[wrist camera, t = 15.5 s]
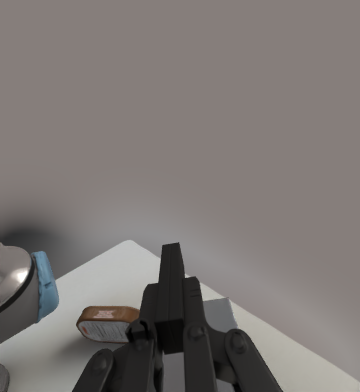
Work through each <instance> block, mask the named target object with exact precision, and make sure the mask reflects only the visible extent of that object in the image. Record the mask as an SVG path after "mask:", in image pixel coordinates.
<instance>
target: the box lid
mask: <svg viewBox="0 0 360 392" xmlns="http://www.w3.org/2000/svg"><path fill="white" fill-rule="evenodd" d="M203 306H204V312H205V317H206V321H207V323H208V324H209V325H210V326H211V327H212V328H213V329H215V330H217V331H221V332H225V333H226V332H228V331H229V330H230V329H235V328H236V329H238V325H237V322H236V319H235V316H234V313H233V310H232V307H231V304H230V300H229V298H222V299H216V300H209V301H203ZM162 361H163V364H164V382H163V392H185V378H184V353H183V352H182V353H175V354H168V355H164V352H163V357H162ZM216 381H217V387H218V392H234V391H233V388H232V386H231V384H230V383H227V382H224V381H221V380H218V379H216Z"/></svg>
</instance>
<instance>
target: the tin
mask: <svg viewBox="0 0 360 392" xmlns="http://www.w3.org/2000/svg"><path fill="white" fill-rule="evenodd" d="M139 313H140V310H138V309H136V308H133V307H128V306H89V307H87V308H85V309H84V310H83V312H82V314H81V316H80V317H79V319H78V321H77V323H76V326H77V328H78V330H79V331H80V332H81V333H82V335H83V336H84V337H86V338H88V339H90V340H93V341H97V342H110V343H128V339H127V337H126V335H125V331H126V329H127V327H128V326H129V324H130V323H131V322H133V321H134V320H135V319H138V318H139Z"/></svg>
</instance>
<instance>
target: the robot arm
mask: <svg viewBox="0 0 360 392" xmlns="http://www.w3.org/2000/svg"><path fill="white" fill-rule="evenodd" d="M58 304H59V296H58V291H57V287H56V283H55V280H54V276H53V273H52V269H51V267H50V263H49V260H48V258H47V255H46V253H45V252H43V251H40V252H34V253H32V254H31V255H29V254H28V253H27V252H26V251H25V250H23V249H21V248H19V247H13V246H3V245H2V244H1V242H0V344H1V343H2V342H4V341H6V340H7V339H9V338H11V337H12V336H14V335H16V334H17V333H19V332H21V331H22V330H24V329H26V328H27V327H29V326H31V325H32V324H34V323H35V324H36V323H38V322H39V321H40V320H41V319H42V318H44V317H45V316H47V315H48V314H50V313H51V312H53V311H54V310H55V309H56V308H57V306H58ZM125 335H126V337H127V339H128V343H127V344H125V345H124V346H122V347H120V348H118V349H117V350H115V351H113V352H112V351H111V350H109V349H102V350H100V351H98V352H97V353H95V354H94V355H93V356H92V358H91V359H90V360H89V362H88V363H87V365H86V367H85V369H84V371H83V372H82V374H81V376H80V378H79V380H78V382H77V383H76V385H75V387H74V389H73V391H72V392H163V382H164V364H163V361H162V357H163V352H164V355H168V354H175V353H182V352H183V353H184V378H185V392H218V387H217V381H216V379H218V380H221V381H224V382H227V383H230V384H231V386H232V388H233V391H234V392H283V391H282V389H281V388H280V386H279V384H278V383H277V381H276V380H275V378H274V376H273V375H272V373H271V371H270V370H269V368H268V366H267V365H266V363H265V361H264V360H263V358H262V357H261V355H260V353H259V352H258V350H257V348H256V347H255V345H254V343H253V342H252V340H251V339H250V337H249V336H248V335H247V334H246V333H245V332H244V331H242V330H241V329H236V328H235V329H230V330H229V331H228V332H226V333H225V332H221V331H217V330H215V329H213V328H212V327H211V326H210V325H209V324H208V323H207V321H206V317H205V312H204V306H203V300H202V294H201V289H200V283H199V281H198V279H197V278H196V277H189V278H185V272H184V264H183V259H182V254H181V249H180V244H179V242H178V243H173V244H166V245H163V246H162V255H161V263H160V272H159V281H158V283H154V284H148V285H147V287H146V288H145V290H144V293H143V298H142V303H141V308H140V313H139V318H138V319H135V320H134V321H133V322H131V323H130V324H129V326H128V327H127V329H126V331H125ZM9 380H10V377H9V373H8V371H7V369H6V368H5V367H4V366H3V365H2V364H0V392H7V390H8V386H9Z"/></svg>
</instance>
